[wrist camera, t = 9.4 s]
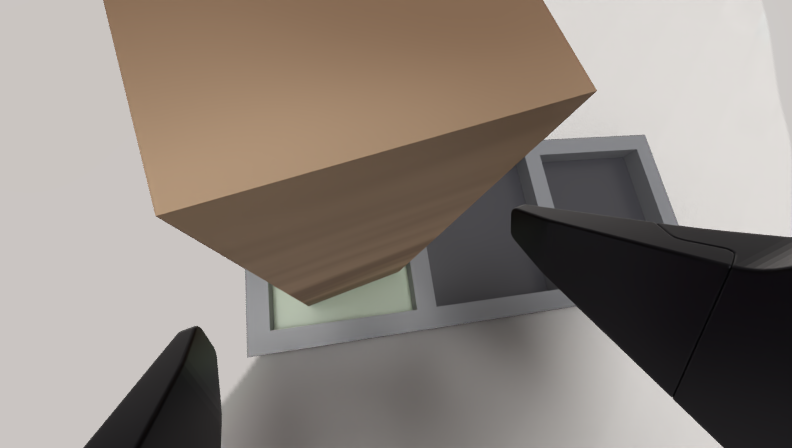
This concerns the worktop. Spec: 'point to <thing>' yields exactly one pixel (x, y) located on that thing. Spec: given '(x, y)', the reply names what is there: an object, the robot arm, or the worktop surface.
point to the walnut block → (335, 122)
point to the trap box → (472, 253)
